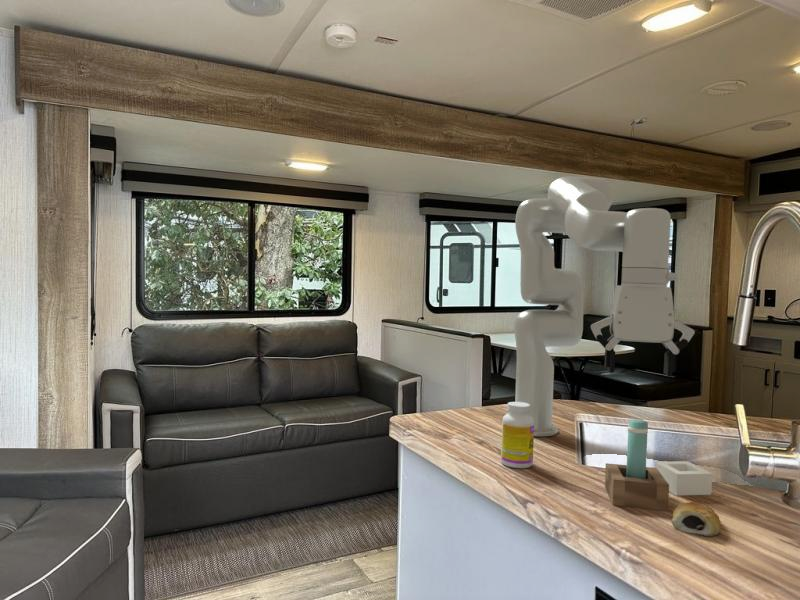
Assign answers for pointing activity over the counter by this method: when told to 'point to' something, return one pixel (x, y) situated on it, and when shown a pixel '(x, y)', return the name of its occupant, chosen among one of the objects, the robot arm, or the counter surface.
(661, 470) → the white square holed block
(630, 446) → the dowel
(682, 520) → the pastry
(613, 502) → the brown square wooden frame
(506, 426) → the supplement bottle
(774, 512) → the counter surface
